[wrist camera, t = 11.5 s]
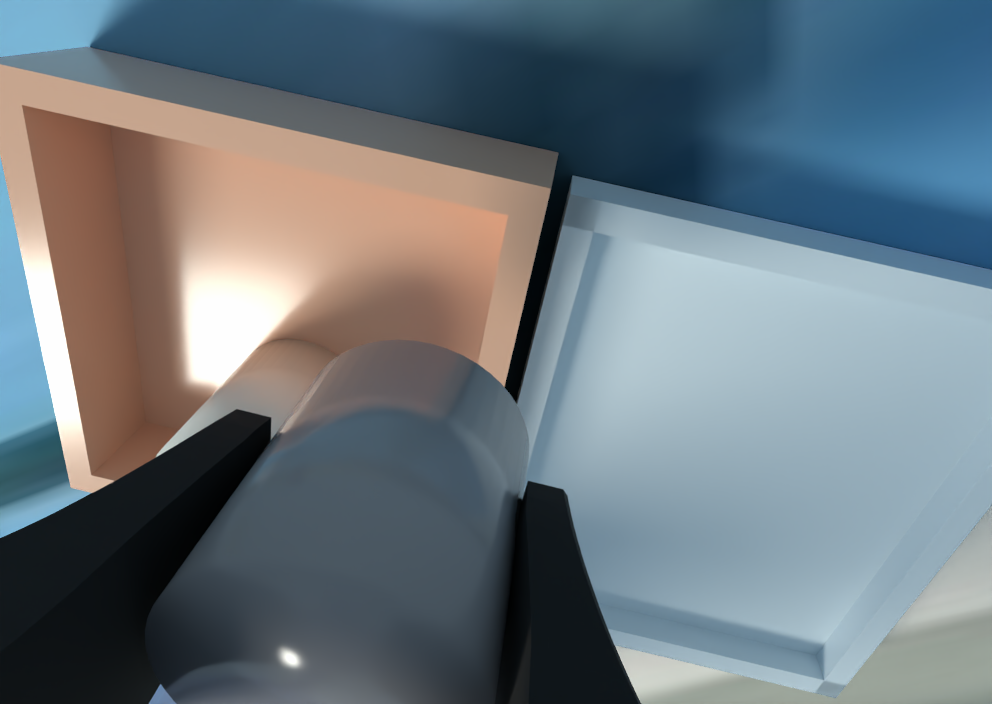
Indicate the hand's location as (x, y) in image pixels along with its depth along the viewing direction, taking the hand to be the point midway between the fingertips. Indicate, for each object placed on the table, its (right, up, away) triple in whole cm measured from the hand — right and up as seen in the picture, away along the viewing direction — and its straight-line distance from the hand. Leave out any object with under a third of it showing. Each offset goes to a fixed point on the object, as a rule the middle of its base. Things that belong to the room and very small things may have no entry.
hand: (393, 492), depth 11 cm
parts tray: (+9, -1, +10) cm, 14 cm away
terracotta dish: (-4, +4, +9) cm, 11 cm away
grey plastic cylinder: (0, +1, +1) cm, 1 cm away
